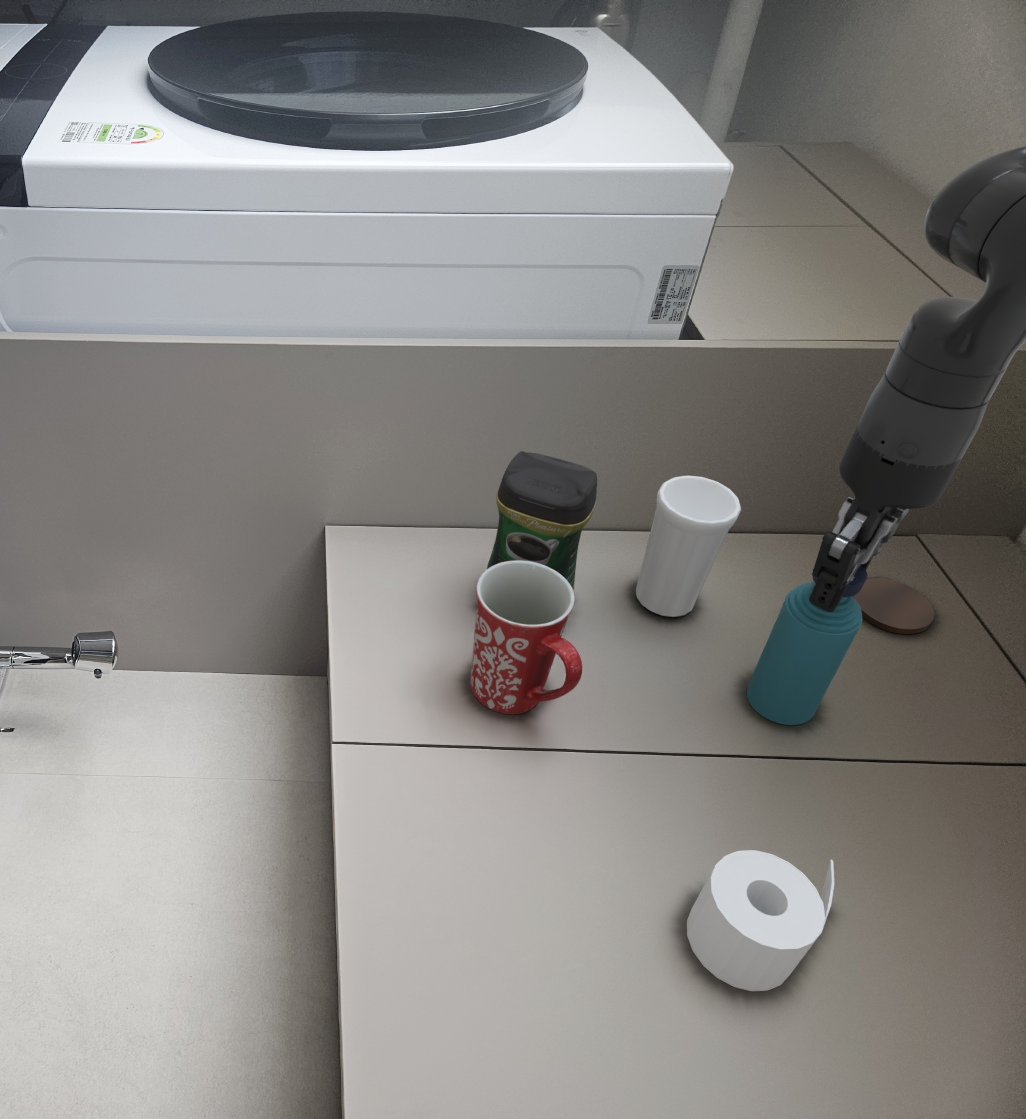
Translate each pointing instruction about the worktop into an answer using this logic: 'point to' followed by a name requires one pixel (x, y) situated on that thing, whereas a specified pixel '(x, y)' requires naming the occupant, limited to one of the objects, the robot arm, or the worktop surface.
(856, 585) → the cap
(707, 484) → the cup
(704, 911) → the toilet paper
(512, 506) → the coffee jar
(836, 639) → the bottle
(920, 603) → the coaster
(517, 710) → the mug
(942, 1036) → the worktop surface
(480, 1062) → the worktop surface
